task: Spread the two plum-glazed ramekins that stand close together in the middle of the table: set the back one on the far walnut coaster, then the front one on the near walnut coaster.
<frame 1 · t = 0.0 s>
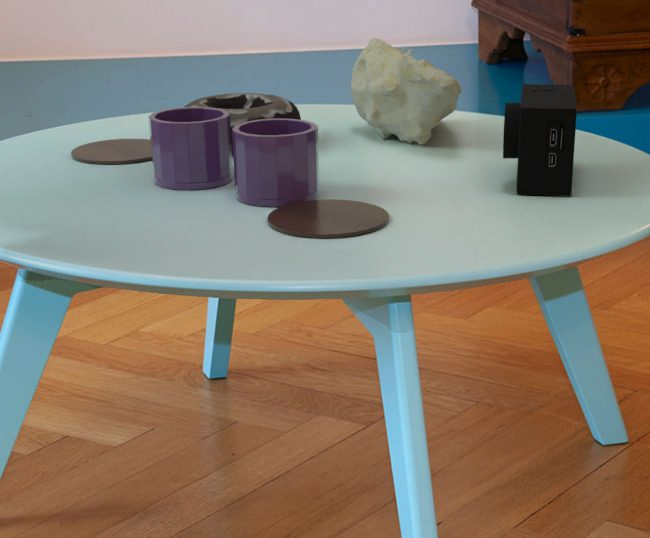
coaster b: (120, 152, 105), on the table
pale rock: (423, 141, 108), on the table
ramekin a: (277, 195, 91), on the table
coaster a: (328, 219, 84), on the table
ramekin b: (193, 179, 96), on the table
donut: (240, 145, 108), on the table
digital camera: (536, 181, 94), on the table
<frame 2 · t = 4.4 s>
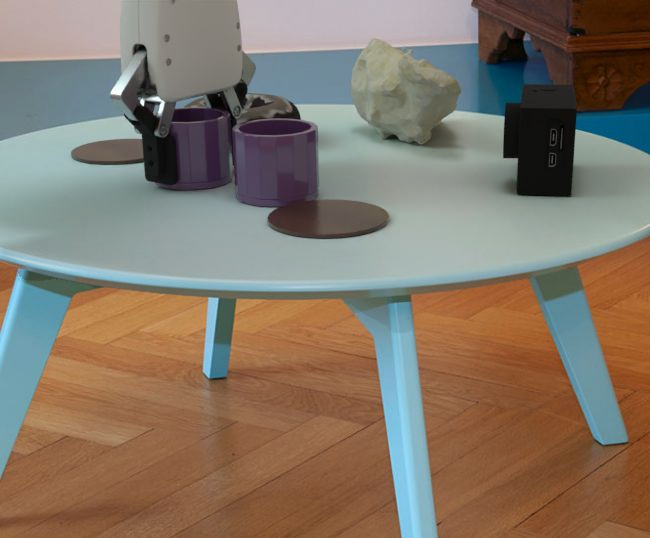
hand: (193, 171, 95), 1 cm above the table, tool pointing down, fingers closed on ramekin b, 6 cm apart
ramekin b: (193, 179, 96), on the table, touching gripper
everything else where it was.
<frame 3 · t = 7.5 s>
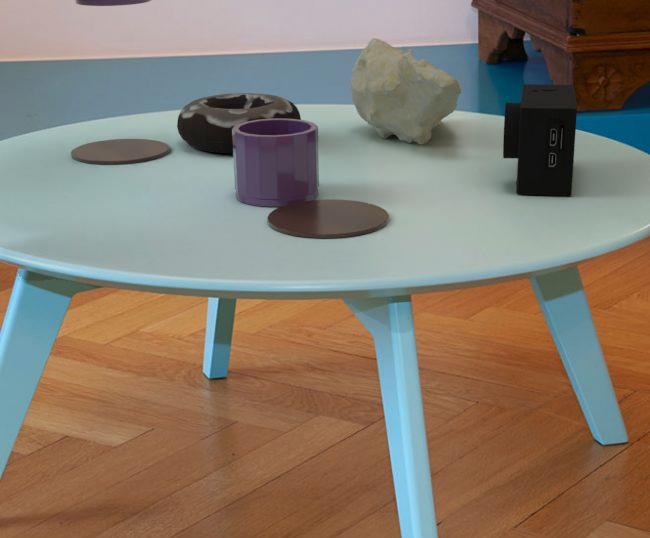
ramekin b: (113, 1, 99), point 14 cm above the table, touching gripper
everything else where it was.
when the fingers open (1 cm above the table, at t = 11.0 s): ramekin b stays where it is, resting on coaster b.
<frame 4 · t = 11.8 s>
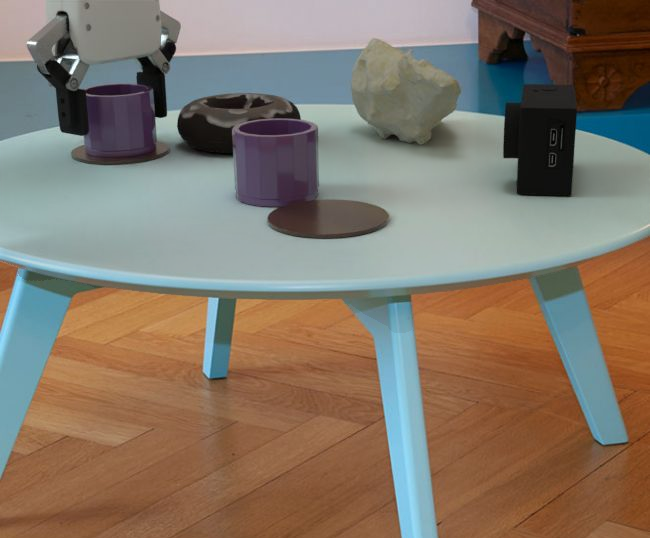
hand: (115, 124, 104), 3 cm above the table, tool pointing down, fingers open, 9 cm apart
ramekin b: (121, 149, 105), resting on coaster b
everything else where it was.
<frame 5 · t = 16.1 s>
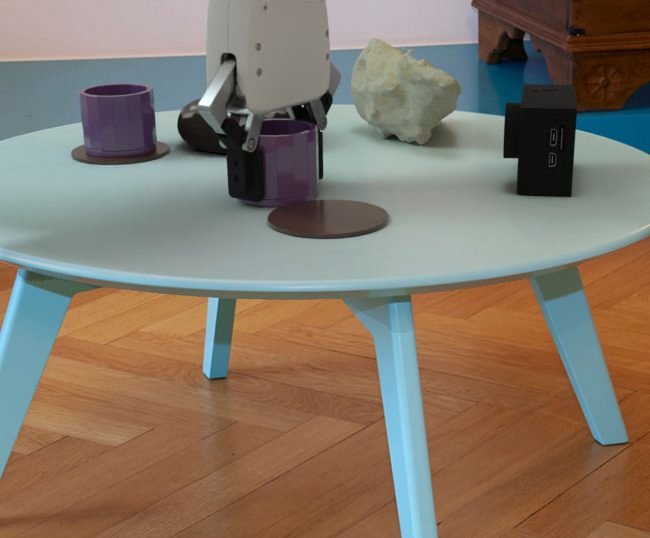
hand: (277, 186, 90), 1 cm above the table, tool pointing down, fingers closed on ramekin a, 6 cm apart
ramekin a: (277, 195, 91), on the table, touching gripper
everything else where it was.
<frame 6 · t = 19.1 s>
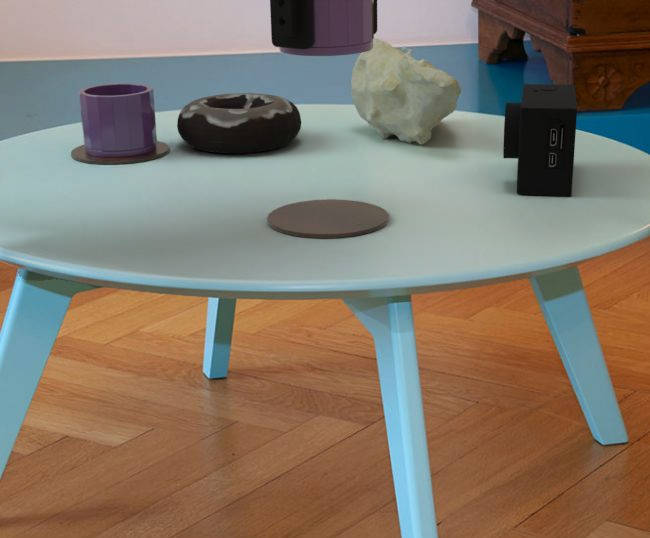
hand: (325, 38, 79), 13 cm above the table, tool pointing down, fingers closed on ramekin a, 6 cm apart
ramekin a: (326, 48, 80), point 12 cm above the table, touching gripper
everything else where it was.
when the fingers open (1 cm above the table, at t = 22.3 s): ramekin a stays where it is, resting on coaster a.
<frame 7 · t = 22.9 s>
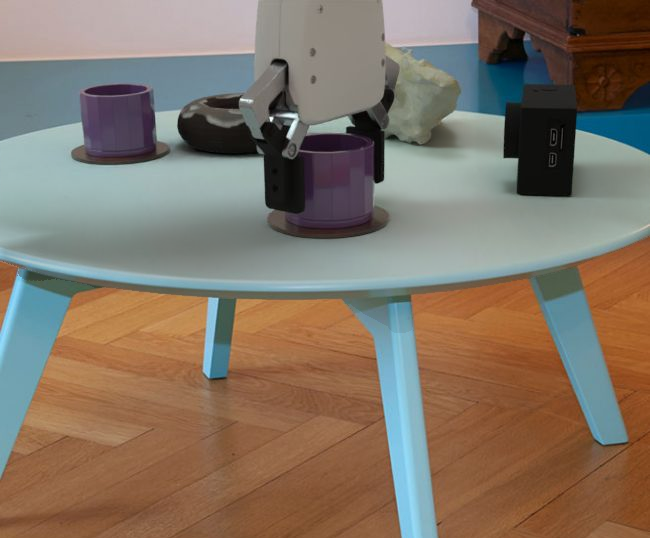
hand: (326, 194, 83), 2 cm above the table, tool pointing down, fingers open, 9 cm apart
ramekin a: (329, 215, 84), resting on coaster a
everything else where it was.
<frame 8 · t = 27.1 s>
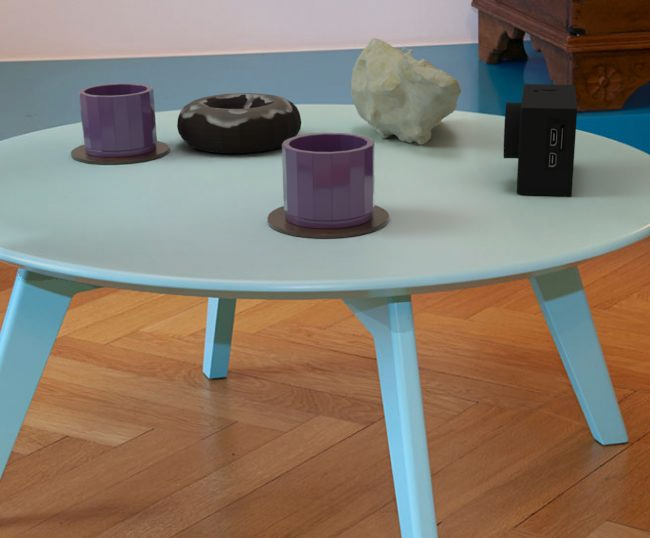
nothing on the table moved.
at the end: ramekin b 0.1 cm off-centre on the coaster b, point 0.3 cm above the coaster b's base; ramekin a 0.1 cm off-centre on the coaster a, point 0.3 cm above the coaster a's base; ramekin a tilted 0° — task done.
